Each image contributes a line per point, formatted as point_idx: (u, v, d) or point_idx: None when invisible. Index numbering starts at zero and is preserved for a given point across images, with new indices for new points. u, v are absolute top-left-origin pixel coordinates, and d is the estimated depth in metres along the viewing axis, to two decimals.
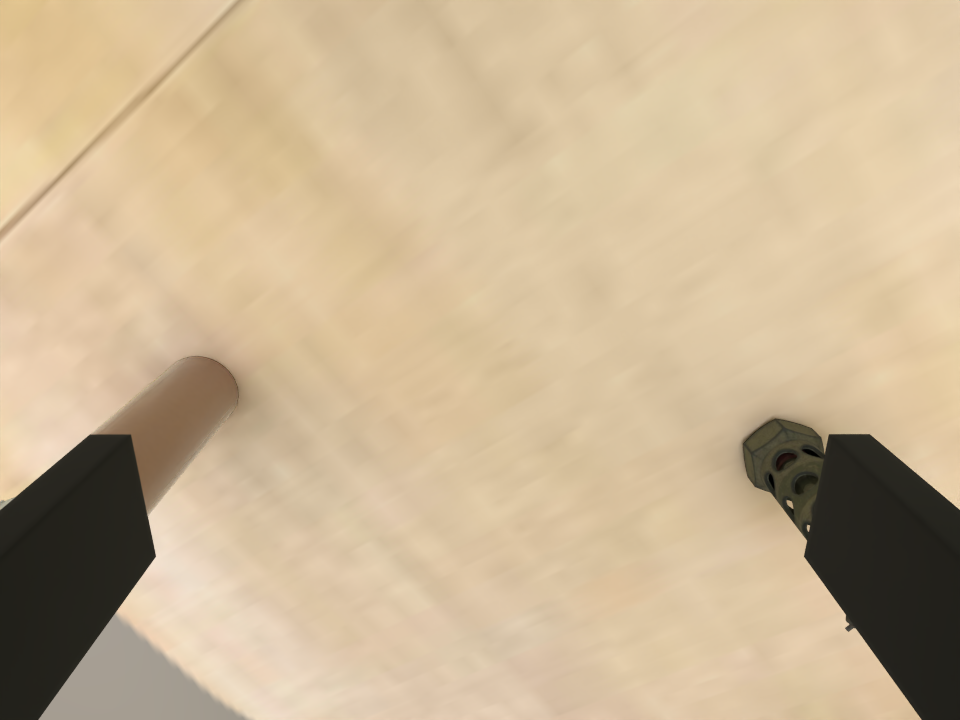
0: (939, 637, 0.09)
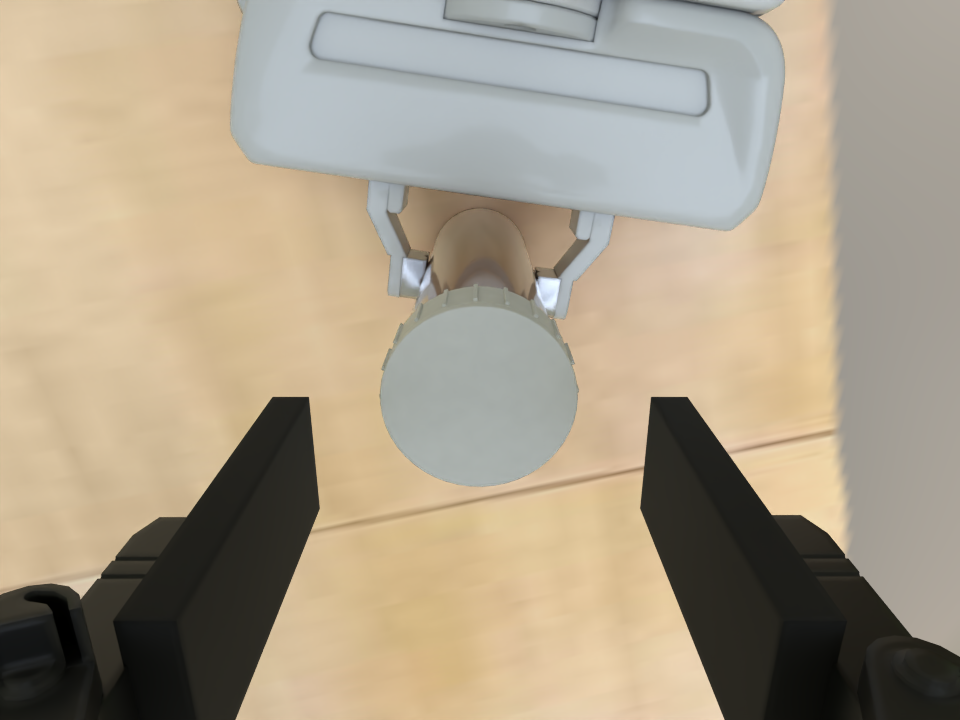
0: (698, 560, 0.11)
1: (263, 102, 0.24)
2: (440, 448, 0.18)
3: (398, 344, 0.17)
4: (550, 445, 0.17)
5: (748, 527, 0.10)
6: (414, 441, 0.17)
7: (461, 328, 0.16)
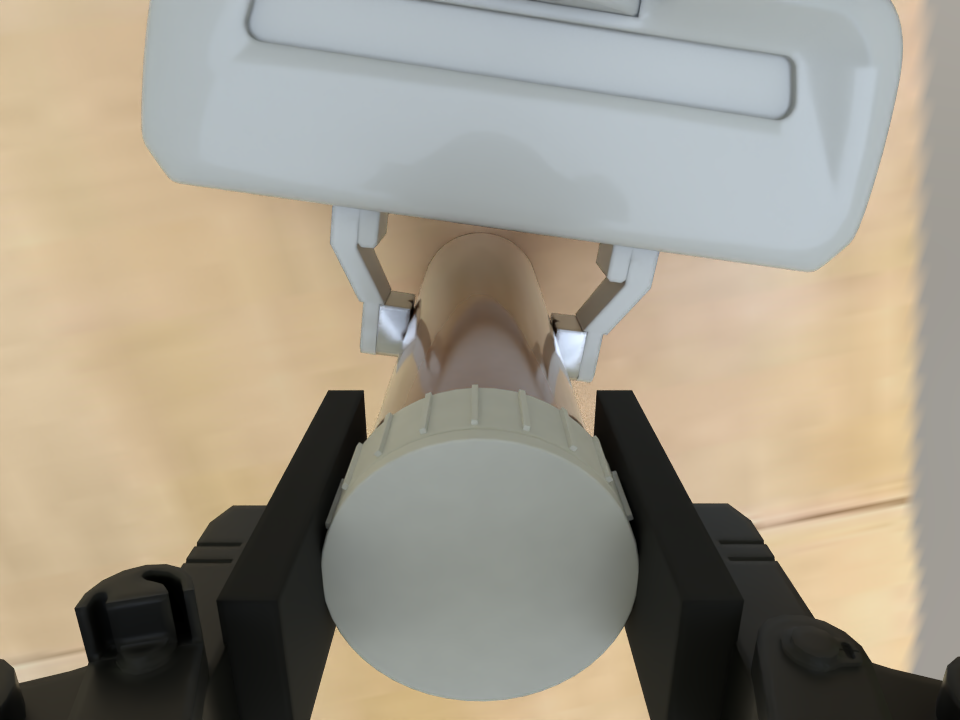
0: None
1: (184, 101, 0.18)
2: (419, 648, 0.11)
3: (347, 497, 0.10)
4: (593, 644, 0.11)
5: (666, 513, 0.10)
6: (377, 638, 0.11)
7: (451, 473, 0.10)
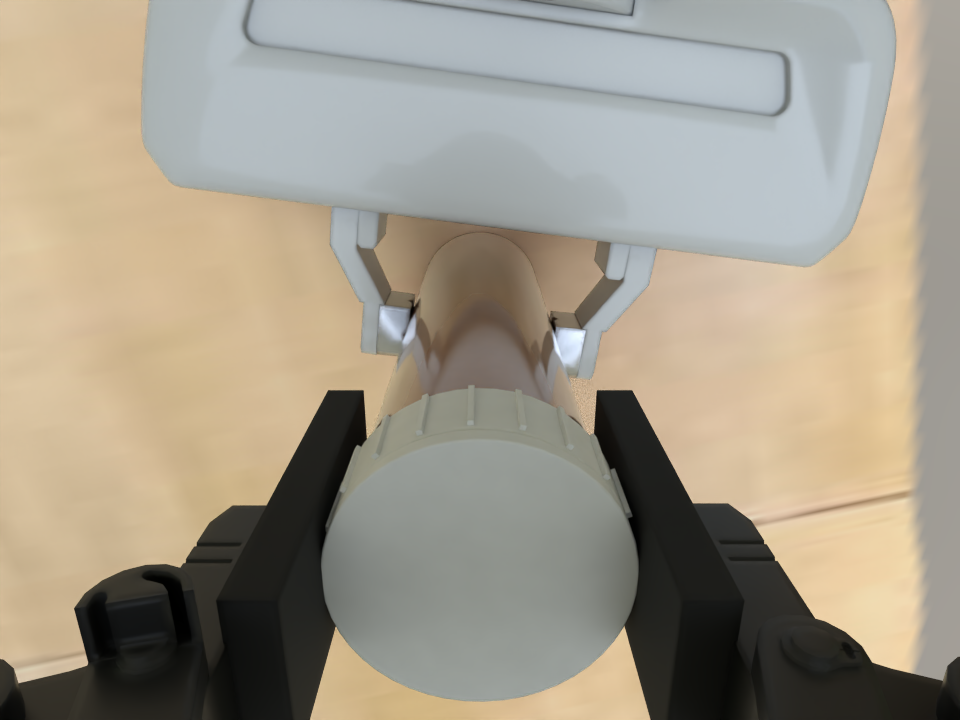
0: None
1: (183, 105, 0.18)
2: (586, 581, 0.11)
3: (479, 700, 0.11)
4: (470, 456, 0.10)
5: (666, 513, 0.10)
6: (599, 613, 0.11)
7: (401, 657, 0.11)
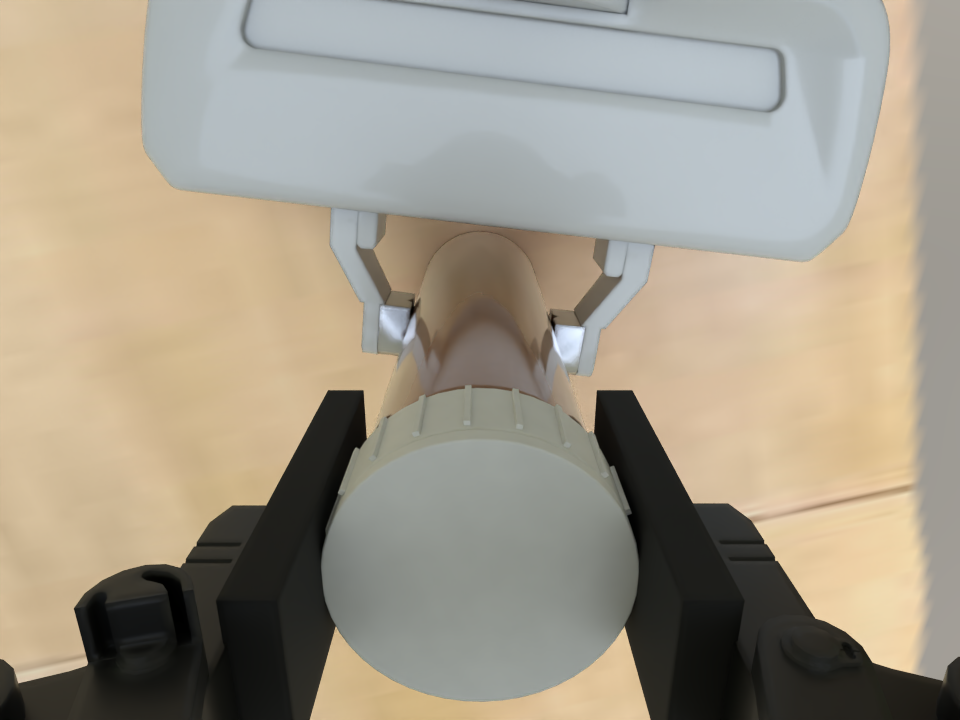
0: None
1: (182, 109, 0.18)
2: (411, 509, 0.10)
3: (612, 498, 0.10)
4: (376, 655, 0.11)
5: (667, 513, 0.10)
6: (435, 474, 0.10)
7: (605, 588, 0.11)
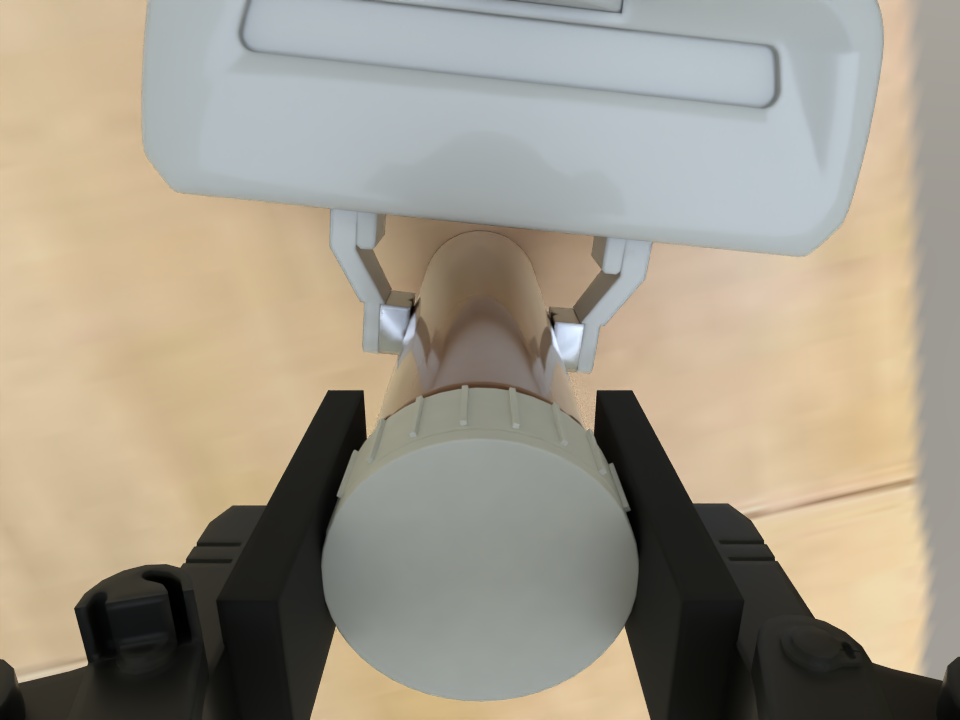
0: None
1: (182, 113, 0.18)
2: (454, 661, 0.11)
3: (324, 544, 0.10)
4: (617, 606, 0.11)
5: (666, 513, 0.10)
6: (412, 664, 0.11)
7: (405, 491, 0.10)
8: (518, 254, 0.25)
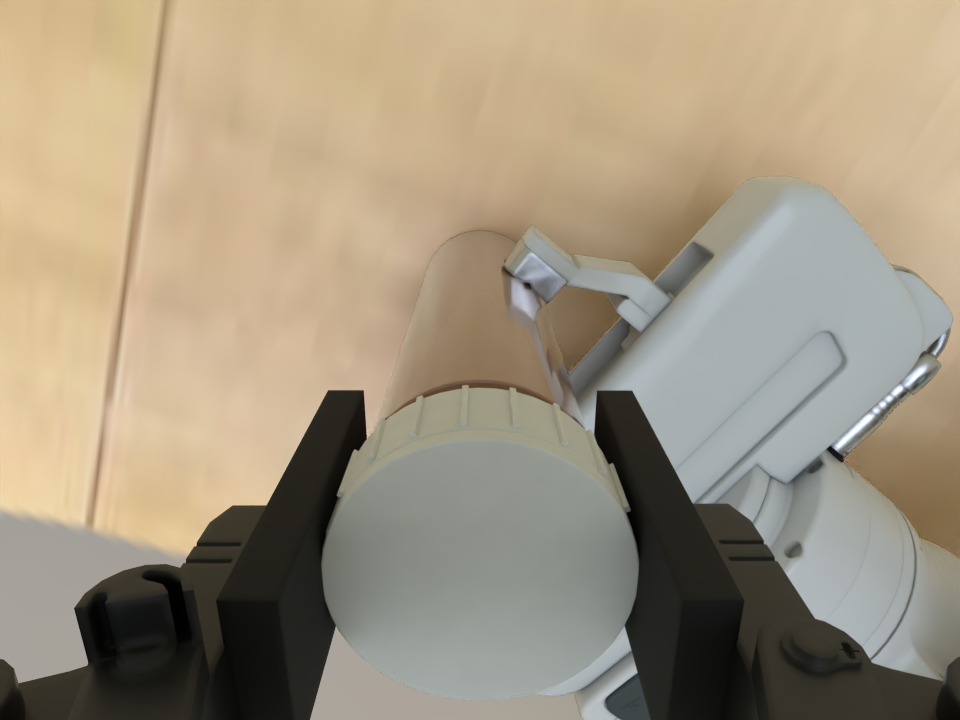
0: None
1: (826, 253, 0.20)
2: (453, 661, 0.11)
3: (324, 544, 0.10)
4: (617, 606, 0.11)
5: (667, 513, 0.10)
6: (412, 664, 0.11)
7: (405, 491, 0.10)
8: None
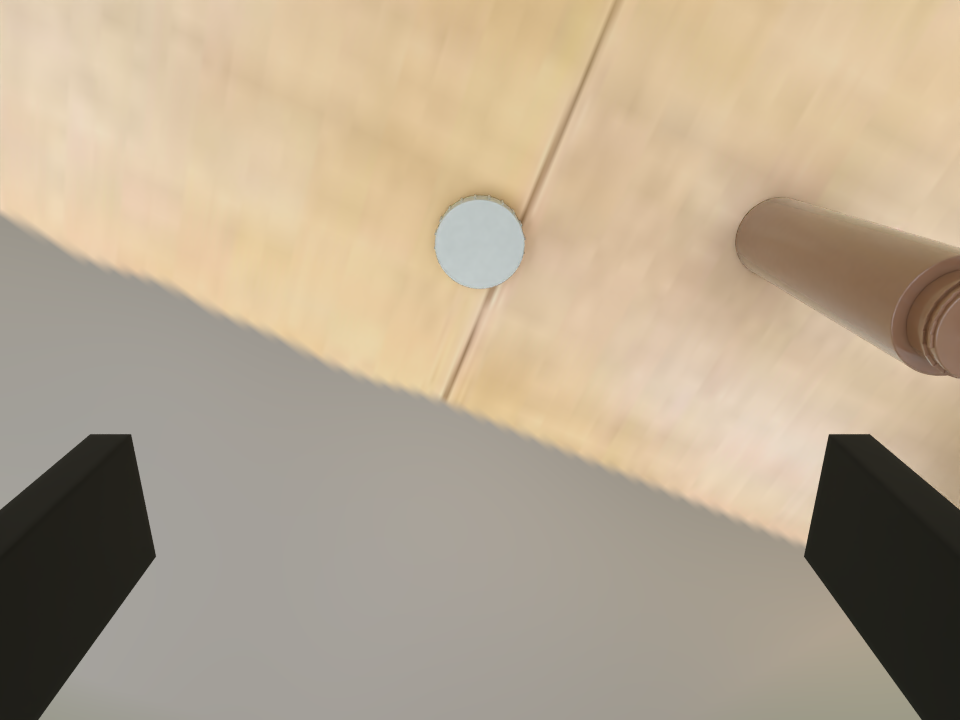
0: (939, 637, 0.09)
1: None
2: (472, 273, 0.38)
3: (436, 233, 0.37)
4: (518, 253, 0.38)
5: None
6: (459, 274, 0.38)
7: (459, 215, 0.37)
8: None
